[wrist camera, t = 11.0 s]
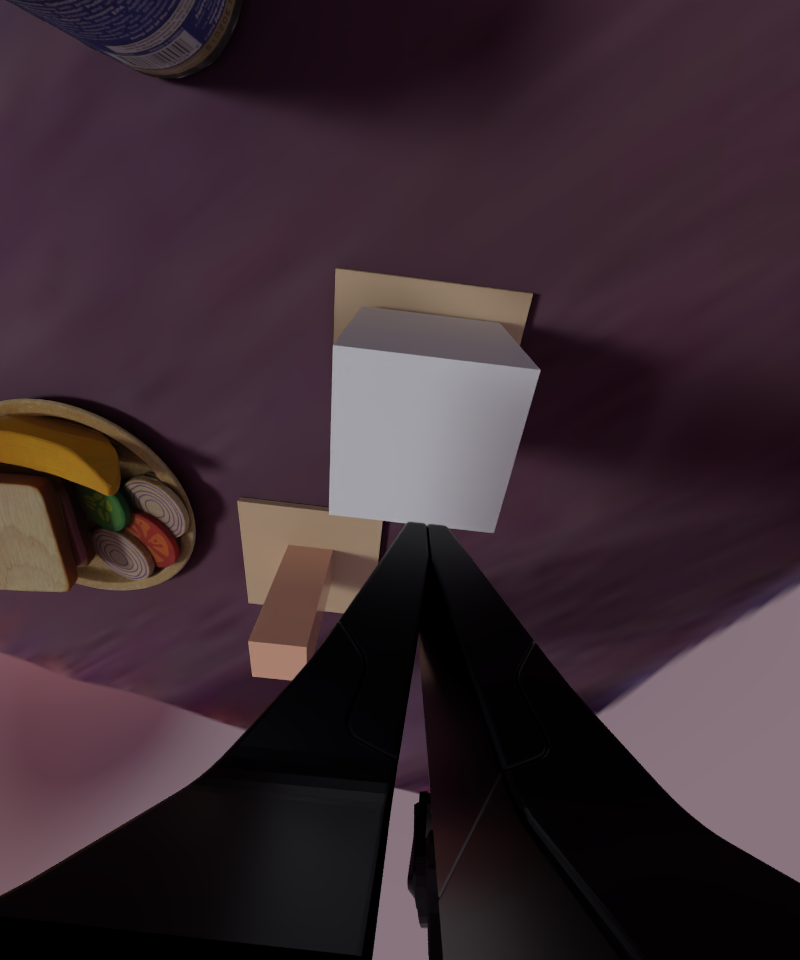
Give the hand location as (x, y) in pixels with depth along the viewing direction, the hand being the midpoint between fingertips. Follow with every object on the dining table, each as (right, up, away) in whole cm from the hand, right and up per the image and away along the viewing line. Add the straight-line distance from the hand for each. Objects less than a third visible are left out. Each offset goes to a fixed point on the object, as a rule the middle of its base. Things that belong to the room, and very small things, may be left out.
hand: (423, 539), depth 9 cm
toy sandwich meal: (-19, 0, +15) cm, 24 cm away
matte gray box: (0, +6, +9) cm, 11 cm away
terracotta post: (-6, -4, +16) cm, 18 cm away
